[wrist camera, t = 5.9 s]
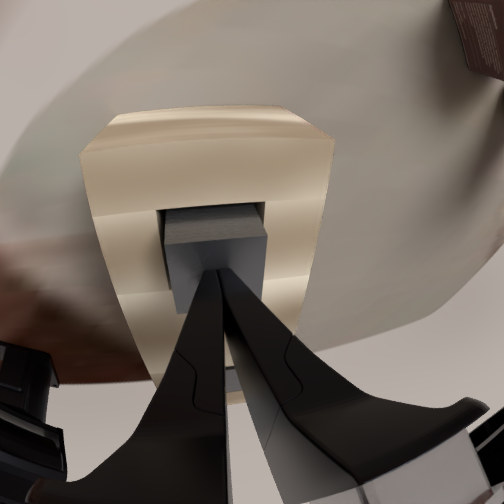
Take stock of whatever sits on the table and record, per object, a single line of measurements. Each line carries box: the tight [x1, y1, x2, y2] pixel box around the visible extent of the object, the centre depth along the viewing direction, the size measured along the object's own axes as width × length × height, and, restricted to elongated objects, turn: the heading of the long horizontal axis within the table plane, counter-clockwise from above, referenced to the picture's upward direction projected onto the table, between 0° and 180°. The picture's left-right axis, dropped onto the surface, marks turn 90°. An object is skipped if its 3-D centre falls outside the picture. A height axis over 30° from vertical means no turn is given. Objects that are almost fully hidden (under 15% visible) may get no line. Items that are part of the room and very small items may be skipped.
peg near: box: [164, 202, 268, 314], centre depth 11 cm, size 3×3×5 cm
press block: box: [79, 105, 335, 405], centre depth 16 cm, size 18×8×6 cm, turn 177°
